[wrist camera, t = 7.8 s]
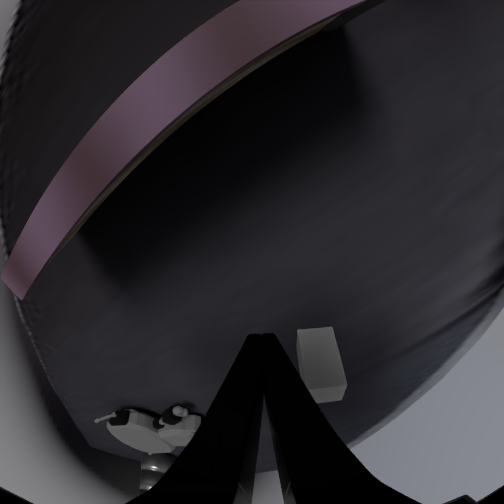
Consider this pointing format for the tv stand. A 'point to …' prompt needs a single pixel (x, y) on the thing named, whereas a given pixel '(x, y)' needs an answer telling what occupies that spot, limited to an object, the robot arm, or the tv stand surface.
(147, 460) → the plastic bottle
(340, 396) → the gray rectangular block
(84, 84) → the tv stand surface
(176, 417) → the robot toy
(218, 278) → the tv stand surface
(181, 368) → the tv stand surface
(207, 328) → the tv stand surface
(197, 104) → the beige flat panel
